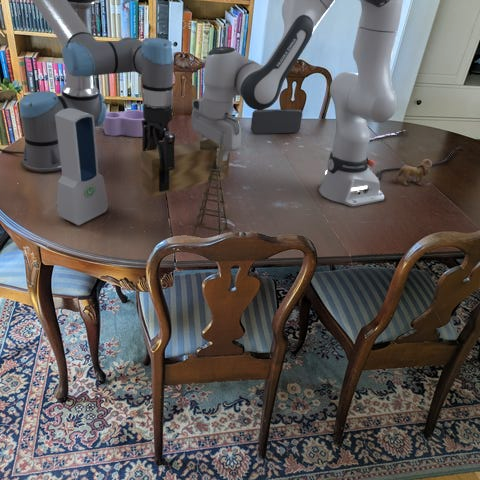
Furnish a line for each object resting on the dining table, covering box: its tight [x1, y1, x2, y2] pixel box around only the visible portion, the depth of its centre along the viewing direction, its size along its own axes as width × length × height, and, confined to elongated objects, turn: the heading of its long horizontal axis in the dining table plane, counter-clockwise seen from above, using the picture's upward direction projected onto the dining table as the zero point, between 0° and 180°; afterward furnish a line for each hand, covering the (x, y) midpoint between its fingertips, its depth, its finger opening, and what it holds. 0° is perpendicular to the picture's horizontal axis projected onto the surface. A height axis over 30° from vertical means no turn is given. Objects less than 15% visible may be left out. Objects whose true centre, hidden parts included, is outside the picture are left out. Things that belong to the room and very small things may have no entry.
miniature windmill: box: [192, 133, 229, 237], centre depth 124 cm, size 9×8×30 cm
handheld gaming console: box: [250, 108, 303, 135], centre depth 204 cm, size 23×3×10 cm, turn 108°
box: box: [140, 138, 231, 197], centre depth 135 cm, size 26×6×11 cm, turn 128°
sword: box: [370, 131, 408, 142], centre depth 215 cm, size 31×3×1 cm, turn 126°
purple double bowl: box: [102, 109, 145, 138], centre depth 190 cm, size 20×12×7 cm, turn 109°
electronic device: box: [55, 108, 109, 226], centre depth 126 cm, size 12×8×30 cm, turn 148°
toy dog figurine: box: [392, 158, 433, 186], centre depth 172 cm, size 15×5×9 cm, turn 110°
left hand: (158, 185), depth 132 cm, fingers closed on box, 6 cm apart
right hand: (213, 154), depth 139 cm, fingers open, 8 cm apart
